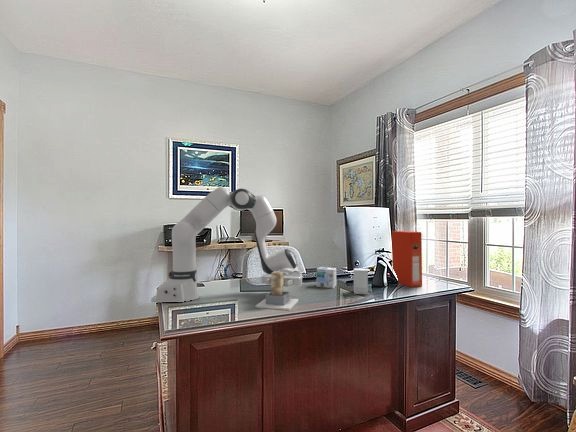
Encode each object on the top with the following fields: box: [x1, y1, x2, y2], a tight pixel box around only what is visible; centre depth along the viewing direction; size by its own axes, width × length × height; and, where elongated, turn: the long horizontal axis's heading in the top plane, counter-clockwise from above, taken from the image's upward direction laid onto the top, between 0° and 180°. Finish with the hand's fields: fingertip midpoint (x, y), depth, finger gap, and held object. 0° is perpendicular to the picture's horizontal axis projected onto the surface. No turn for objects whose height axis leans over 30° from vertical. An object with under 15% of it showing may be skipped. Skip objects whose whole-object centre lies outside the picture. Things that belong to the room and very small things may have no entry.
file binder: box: [391, 230, 423, 288], centre depth 187 cm, size 8×17×32 cm, turn 17°
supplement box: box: [353, 267, 369, 295], centre depth 166 cm, size 7×7×13 cm
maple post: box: [270, 271, 284, 296], centre depth 144 cm, size 4×4×14 cm
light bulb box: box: [315, 266, 337, 289], centre depth 181 cm, size 11×7×11 cm, turn 68°
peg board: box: [255, 291, 299, 311], centre depth 144 cm, size 16×16×5 cm
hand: (277, 282), depth 143 cm, fingers open, 8 cm apart
